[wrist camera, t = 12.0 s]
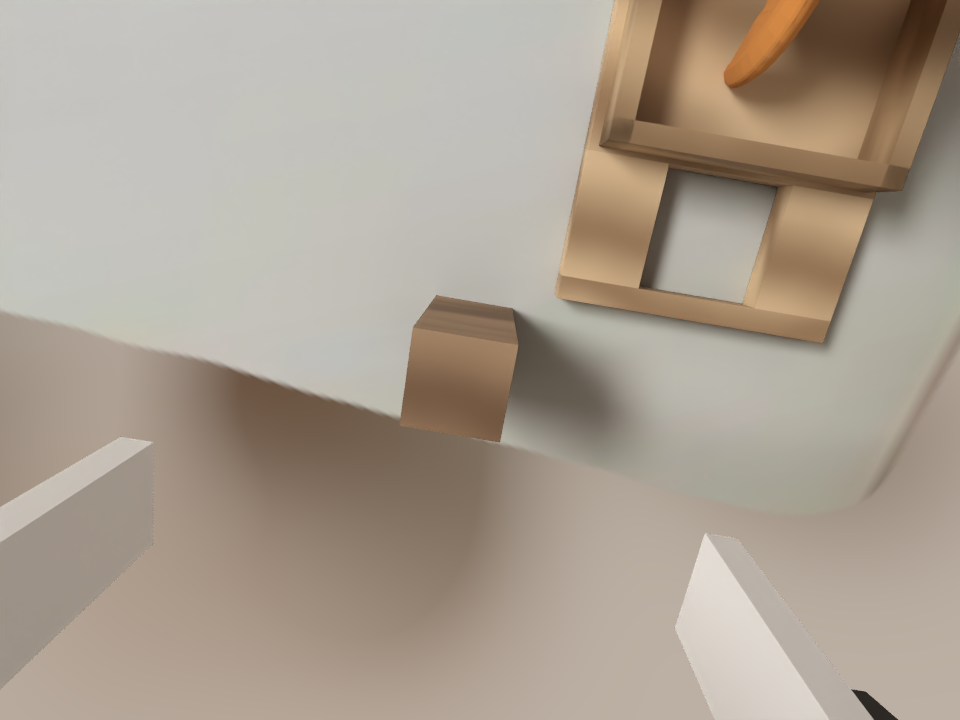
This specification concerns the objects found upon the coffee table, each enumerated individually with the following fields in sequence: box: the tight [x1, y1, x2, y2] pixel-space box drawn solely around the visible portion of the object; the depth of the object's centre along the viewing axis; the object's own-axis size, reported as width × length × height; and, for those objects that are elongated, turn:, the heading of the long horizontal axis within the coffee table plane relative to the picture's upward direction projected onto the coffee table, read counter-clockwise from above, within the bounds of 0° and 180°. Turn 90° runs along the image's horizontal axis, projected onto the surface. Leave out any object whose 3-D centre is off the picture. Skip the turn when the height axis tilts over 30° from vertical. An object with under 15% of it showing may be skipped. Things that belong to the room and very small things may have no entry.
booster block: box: [400, 295, 519, 442], centre depth 27 cm, size 4×4×9 cm
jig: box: [555, 0, 960, 343], centre depth 26 cm, size 23×15×4 cm, turn 171°
